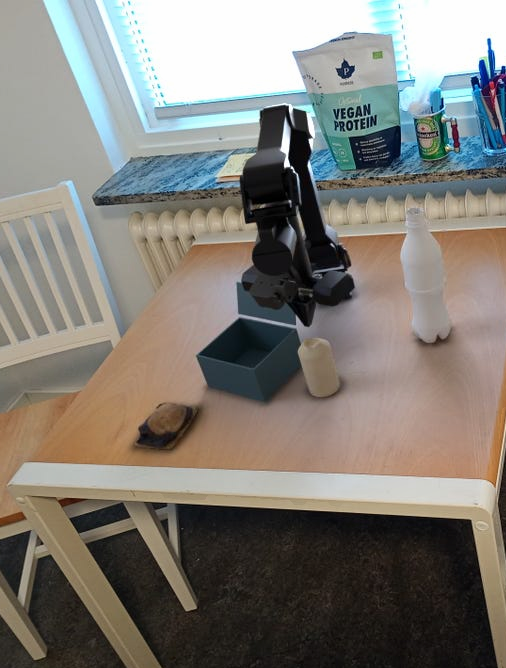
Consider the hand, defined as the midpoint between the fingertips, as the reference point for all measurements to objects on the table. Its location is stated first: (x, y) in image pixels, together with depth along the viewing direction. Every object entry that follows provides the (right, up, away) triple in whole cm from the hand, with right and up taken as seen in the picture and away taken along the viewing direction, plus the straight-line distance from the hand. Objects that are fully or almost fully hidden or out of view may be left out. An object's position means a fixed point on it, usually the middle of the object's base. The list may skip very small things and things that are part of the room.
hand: (308, 325), depth 120 cm
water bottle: (+22, -1, +14) cm, 26 cm away
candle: (+2, -11, +7) cm, 13 cm away
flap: (-9, +5, +12) cm, 16 cm away
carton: (-11, -8, +14) cm, 19 cm away
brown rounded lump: (-25, -18, +6) cm, 31 cm away
